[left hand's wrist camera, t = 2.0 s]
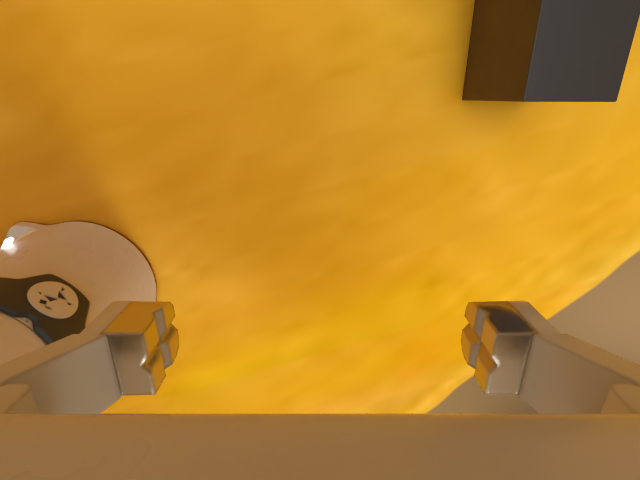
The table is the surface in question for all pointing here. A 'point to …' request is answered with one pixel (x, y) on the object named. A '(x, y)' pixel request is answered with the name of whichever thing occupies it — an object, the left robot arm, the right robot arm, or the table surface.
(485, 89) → the box
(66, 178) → the table surface
